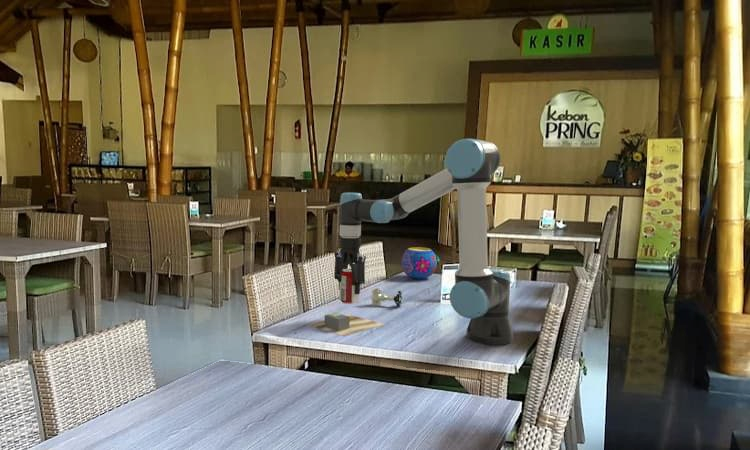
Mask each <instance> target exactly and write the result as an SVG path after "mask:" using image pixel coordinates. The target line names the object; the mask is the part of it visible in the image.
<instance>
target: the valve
mask: <svg viewBox="0 0 750 450" xmlns="http://www.w3.org/2000/svg"><path fill="white" fill-rule="evenodd" d="M371 293H372V294H371V296H370V297H371V305H372V307H380V306H382V302H383V303H385V302H386V301H389V302H390V301H391V302H392V301H393V302H394V303H395V304H396V307H397V308H401V305H402V303H403V302H402V300H403V296H402V295H403V292H402V291H401V290H398V291H397V294H396V295H395V296H393V297H392V296H391V295H387V294H385V293H383V294H382V289H381V288H372V289H371Z"/></svg>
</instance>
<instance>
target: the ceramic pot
mask: <svg viewBox="0 0 750 450" xmlns="http://www.w3.org/2000/svg"><path fill="white" fill-rule="evenodd" d="M439 264H440V258H439V256H438V255H436V254H435V252H434V251H433V250H432V249H431V248H428V247H409V248H407V249H406V250H405V251H404V253H403V255H402V258H401V267H402V270H403V272H404V273H405V275H406V276H408V277H409V278H412V279H415V280H423V279H424V280H425V279H427V278H430V277H431V276H432V275H433V274H434V272H435V270H436V268H437V266H438V265H439Z"/></svg>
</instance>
